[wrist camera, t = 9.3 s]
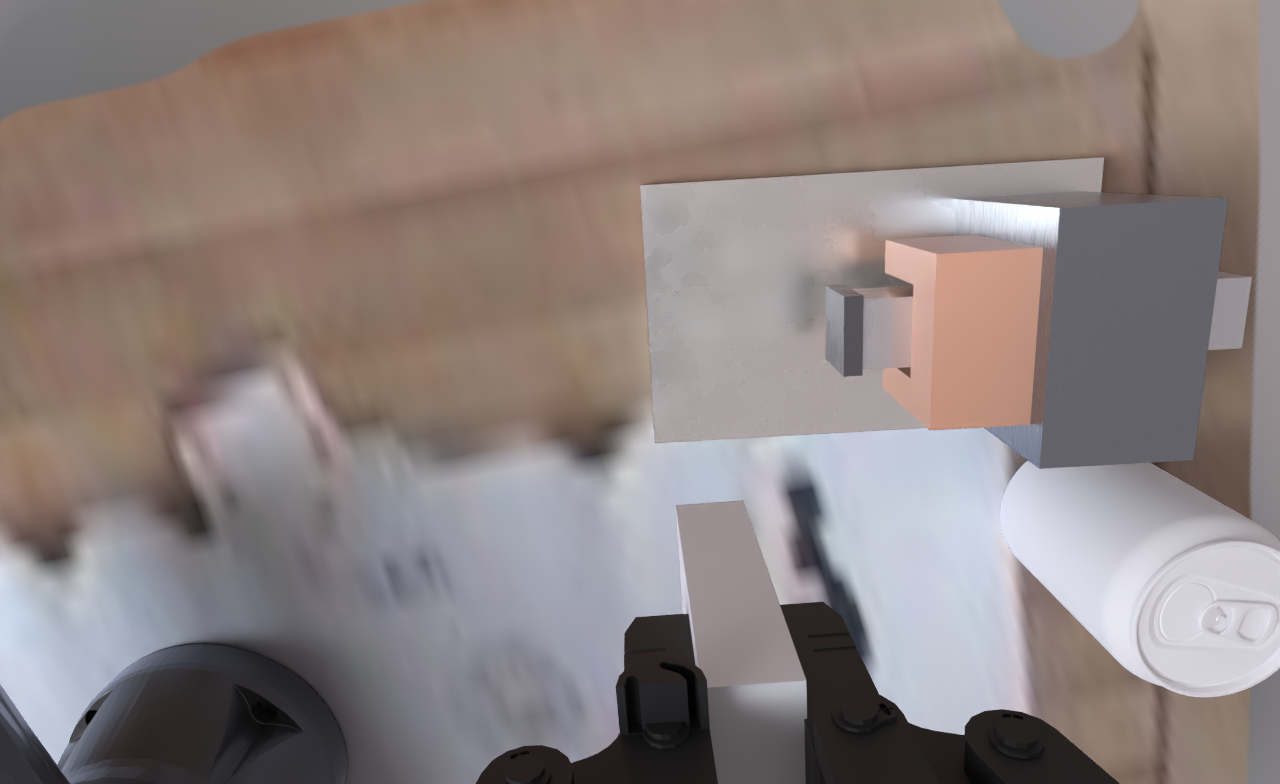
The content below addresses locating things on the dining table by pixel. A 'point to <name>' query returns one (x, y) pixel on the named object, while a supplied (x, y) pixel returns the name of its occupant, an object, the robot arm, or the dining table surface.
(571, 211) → the dining table surface
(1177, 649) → the beverage can
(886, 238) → the grey blocky piece
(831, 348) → the shaft
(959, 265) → the block
